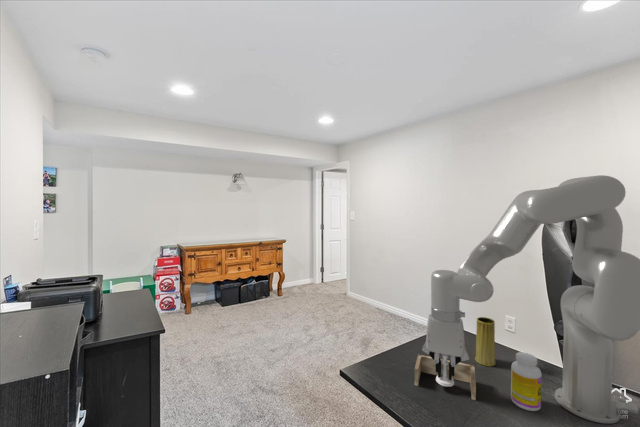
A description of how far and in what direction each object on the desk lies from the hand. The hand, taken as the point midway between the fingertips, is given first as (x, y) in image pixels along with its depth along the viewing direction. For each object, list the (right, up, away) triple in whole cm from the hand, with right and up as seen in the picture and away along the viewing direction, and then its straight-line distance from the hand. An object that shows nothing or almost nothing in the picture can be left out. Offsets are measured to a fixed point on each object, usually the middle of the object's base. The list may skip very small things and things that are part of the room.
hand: (444, 375), depth 85 cm
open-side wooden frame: (+1, -3, +2) cm, 4 cm away
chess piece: (0, -2, 0) cm, 2 cm away
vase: (+19, -3, +14) cm, 24 cm away
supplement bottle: (+19, -4, -7) cm, 20 cm away
